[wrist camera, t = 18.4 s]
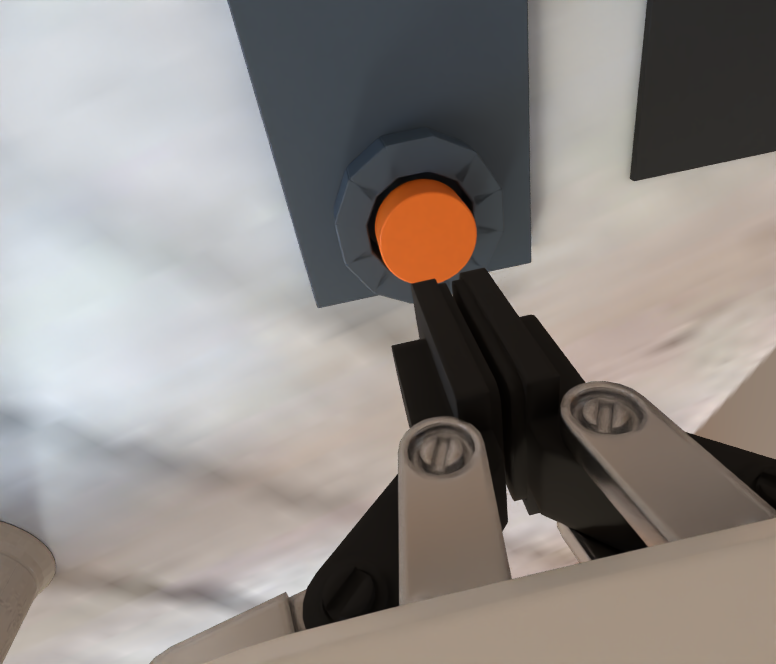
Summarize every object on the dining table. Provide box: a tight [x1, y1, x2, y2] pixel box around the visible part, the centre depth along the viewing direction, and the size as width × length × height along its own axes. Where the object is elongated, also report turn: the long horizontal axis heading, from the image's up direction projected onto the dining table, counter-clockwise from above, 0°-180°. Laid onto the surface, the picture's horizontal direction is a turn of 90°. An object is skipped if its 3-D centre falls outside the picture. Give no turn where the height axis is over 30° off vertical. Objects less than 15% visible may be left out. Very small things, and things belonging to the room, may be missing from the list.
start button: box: [375, 179, 477, 283], centre depth 18 cm, size 4×4×2 cm
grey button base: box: [227, 0, 531, 308], centre depth 19 cm, size 13×10×3 cm
